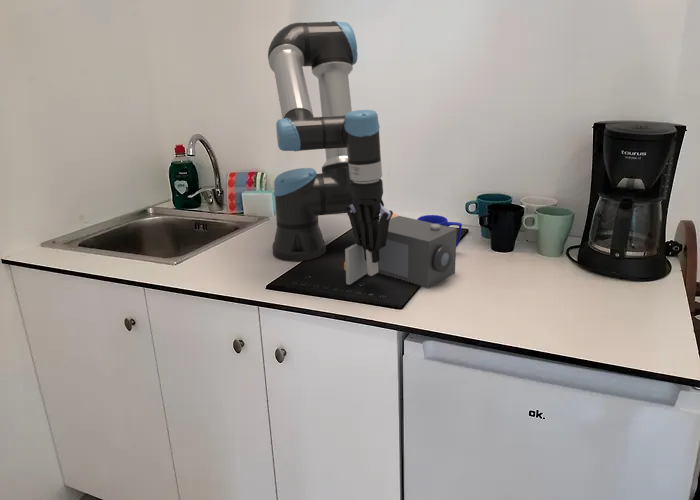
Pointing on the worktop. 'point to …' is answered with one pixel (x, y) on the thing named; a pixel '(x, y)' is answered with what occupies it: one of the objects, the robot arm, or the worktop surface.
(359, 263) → the door
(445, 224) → the mug
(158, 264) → the worktop surface
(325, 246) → the robot arm
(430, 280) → the camera body
